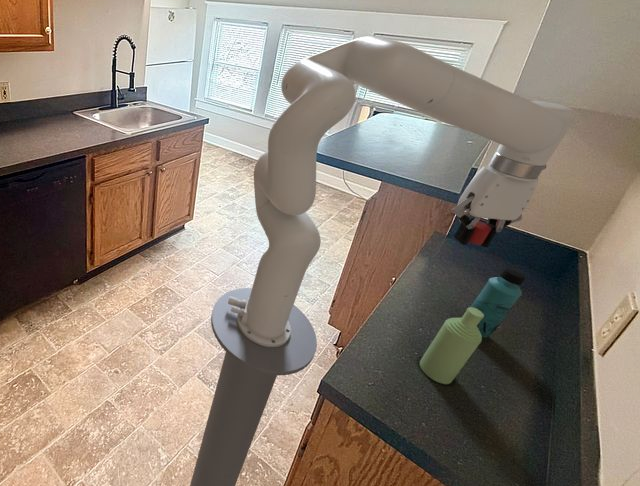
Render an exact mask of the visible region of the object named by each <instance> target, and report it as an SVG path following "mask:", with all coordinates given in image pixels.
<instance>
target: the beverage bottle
mask: <svg viewBox="0 0 640 486" xmlns="http://www.w3.org/2000/svg"><path fill="white" fill-rule="evenodd" d="M525 279H526V275H525V273H524V272H522V271H521V270H519V269H517V268H515V267H510V266H506V267H505V268H503V270H502V271H501V272H500V273H499V276H494V277H490V278H488V281H487V282H486V284H485V285H484V286H483V288H482V289H481V290H480V293H479V294H478V295H477V297H476V298H475V299H474V300H473V302H472V303H471V304H470V306H469V307H473V308H476V309H478V310H480V311H481V312H482V313H483V314H484V317H483V319H481V321H480V322H479V323H478V325H477V328H478V329H479V331H480V333H481V336H482V338H489V337H490V336H493V334H494V333H495V331H496V330H497V329H498V327H499V326H500V325H501V324H502V322H503V319H504V318H505V317H506V316H507V315H508V314H509V312H510V311H511V310H512V309H513V308H514V304H516V302H517V301H518V300H519V298H520V297H521V296H522V294H523V293H522V290H521V289H520V287H519V286H522V285H523V283H524V281H525Z"/></svg>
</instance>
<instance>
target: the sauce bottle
mask: <svg viewBox="0 0 640 486" xmlns="http://www.w3.org/2000/svg"><path fill="white" fill-rule="evenodd" d="M483 317H484V314H483V313H482V312H481V311H480V310H478V309H476V308H473V307H471V306H469V307H467V308H466V311H465V312H464V314H463V315H462V316H461V317H450V318H447V319H446V320H445V321H444V323H443V325H442V326H441V327H440V328H439V330H438V331H437V334H436V335H435V336H434V339H433V340H432V341H431V343H430V344H429V346H428V347H427V350H426V351H425V352H424V354H423V356H422V357H421V359H420V360H419V367H420V369H421V371H423V373H424V374H425V375H426V376H427V377H428V378H430V379H431V380H433V381H434V382H436V383H439V384H443V385H449V384H452V382H453V381H454V380H455V378H456V377H457V375H459V373H460V371H461V370H462V369H463V367H464V366H465V365H466V363H467V362H468V360H469V359H470V357H471V356H472V355H473V354H474V352H475V351H476V349H477V348H478V347H479V346H480V345H481V343H482V340H483V337H482V336H481V333H480V331H479V329H478V328H477V325H478V323H479V322H480V321H481V319H483Z"/></svg>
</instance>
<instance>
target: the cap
mask: <svg viewBox="0 0 640 486" xmlns="http://www.w3.org/2000/svg"><path fill="white" fill-rule="evenodd" d="M472 229H474V230H475V231H474V233H473V235H472V236H471V238H470V240H469V241H468V243H471V244H473V245H476V246H477V245H480V246H482V245H481V244H483V242H484V241H485V239H486V237H487V236H488V234H489V232H490V231H491V227H490V226H488V225H487V223H485V222H483V221H480V220H479V221H478V223H477V224H476V225H475V226H474V228H472Z"/></svg>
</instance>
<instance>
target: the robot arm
mask: <svg viewBox="0 0 640 486" xmlns="http://www.w3.org/2000/svg"><path fill="white" fill-rule="evenodd" d="M355 85H358V86H360V87H361V88H364V89H366V90H368V91H370V92H372V93H373V94H377V95H379V96H381V97H383V98H385V99H388V100H390V101H393V102H395V103H398V104H400V105H403V106H404V107H407V108H409V109H412V110H414V111H416V112H418V113H421V114H423V115H426V116H428V117H430V118H432V119H435V120H437V121H439V122H442V123H444V124H447V125H450V126H454V127H457V128H459V129H461V130H465V131H468V132H470V133H473V134H475V135H478V136H480V137H482V138H485V139H487V140H490V141H492V142H494V143H496V144H499V145H498V147H497V149H496V151H495V152H494V154H493V156H492V158H491V160H490V161H489V163H488V165H483V166H482V167H481V168H480V169H479V170H478V171H477V173H476V174H475V175H474V176H473V178H472V179H471V180H470V182H469V183H468V185H467V186H466V187H465V188H464V191H463V192H462V193H461V195H460V197H459V199H458V202H457V205H456V206H454V207H453V208H452V209H451V212H452V213H453V214H454V215H455V216H457V218H458V219H459V222H460V224H459V226H458V228H457V229H456V232H455V234H454V236H453V237H454V239H456V240H457V241H458V242H459V243H460V244H461V245H462V246H466V245H468V243H469V242H468V241H469V240H470V238H471V236H472V235H473V233H474V231H475V230H474V229H472V228H474V226H475V225H476V224H477V223H478V221H480V220H481V219H487V220H486V224H487V225H488V226H490V227H491V231H490V232H489V234H488V236H487V237H486V239H485V241H484V242H483V244H481V245H480V246H482V247H483V248H488V247H489V246H490V244H491V242H492V241H493V239H494V238H495V236H496V234H497V233H500V232H502V231H503V229H504V228H506V227H508V226H510V225H511V224H513V223H517V222H520V221H522V219H523V215H522V214H523V212H524V211H525V210H526V207H527V206H528V205H529V202H530V201H531V199H532V197H533V195H534V193H535V190H536V187H537V185H538V182H539V176H540V175H541V174H542V171H544V170H546V169H547V164H548V162H549V160H550V159H551V158H552V156H553V155H554V153H555V151H556V149H557V148H558V146H559V145H560V143H561V142H562V140H563V139H564V137H565V136H566V135H567V133H568V130H569V129H570V127H571V126H572V124H573V123H574V121H575V120H576V115H577V114H576V111H575V110H574V109H573V108H571V107H569V106H566V105H564V104H560V103H554V102H549V101H543V100H530V99H527V98H525V97H522V96H520V95H519V94H516V93H513V92H511V91H509V90H506V89H504V88H501V87H499V86H498V85H496V84H493V83H491V82H489V81H487V80H485V79H483V78H481V77H478V76H477V75H474V74H472V73H470V72H467V71H465V70H463V69H461V68H459V67H457V66H454V65H452V64H450V63H448V62H446V61H443V60H441V59H440V58H437V57H435V56H433V55H431V54H430V53H427V52H425V51H423V50H420V49H418V48H416V47H414V46H412V45H410V44H408V43H405V42H402V41H398V40H394V39H391V38H390V39H389V38H385V37H381V36H376V35H367V36H362V37H358V38H355V39H353V40H349V41H347V42H344V43H341V44H339V45H335V46H333V47H331V48H328V49H325V50H324V51H323V50H322V51H321V52H318V53H315V54H313V55H310V56H308V57H305V58H302V59H300V60H299V61H297V62H295V63H293V64H292V65H291V66H289V68H288V69H287V70H285V72H284V75H283V76H282V80H281V82H280V88H281V93H282V96H283V98H284V99H285V100H286V102H287V103H289V105H288V106H287V107H286V108H285V109H284V111H283V112H281V114H280V115H278V117H277V118H276V120H275V121H274V123H273V124H272V126H271V128H270V131H269V134H268V140H267V150H266V151H264V152H263V154H261V155H260V156H259V158H258V159H257V160H256V162H255V165H254V169H253V186H254V187H253V188H254V190H253V191H254V201H255V212H256V216H257V220H258V221H259V223H260V226H261V227H262V230H263V231H264V234H265V236H266V238H267V240H268V247H267V250H265V252H263V254H262V255H261V257H260V259H259V262H258V266H257V268H256V272H255V277H254V279H253V284H252V287H251V288H252V290H251V294H250V297H248V299H247V301H246V300H243V301H241V300H238V299H237V298H234V297H231V296H230V297H229V301H228V304H230V305H233V306H232V308H231V312H234V313H238V316H237V323H238V326H239V328H240V330H241V331H242V333H243V334H244V335H245V336H246V337H247V338H248V339H250V340H251V341H253V342H255V343H256V344H259V345H262V346H266V347H278V346H281V345H283V344H285V343H286V342H287V341H288V339H289V337H290V334H291V326H290V323H289V321H288V319H289V316H290V313H291V310H292V307H293V305H295V302H296V300H297V296H298V294H299V291H300V289H301V285H302V282H303V279H304V277H305V274H306V273H307V270H308V268H309V266H310V264H311V263H312V261H313V260H314V258H315V257H316V256H317V254H318V252H319V250H320V247H321V234H320V232H319V229H318V227H317V225H316V223H315V222H314V220H313V219H311V216H309V214H308V213H307V212H308V211H309V210H310V209H311V207H312V206H313V204H314V202H315V200H316V195H317V156H318V148H319V144H320V141H321V140H322V138H323V137H324V135H325V134H327V132H328V131H330V129H332V128H333V127H334V126H336V125H337V124H338V123H340V122H341V121H342V120H343V119H345V118H346V116H347V115H348V114H349V113H350V111H351V110H352V109H353V106H354V104H355V102H356V101H355V100H356V95H357V94H356V88H355ZM471 217H472V218H471ZM470 218H471V219H470ZM234 306H237V307H240V309H239V308H237V307H234Z"/></svg>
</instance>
